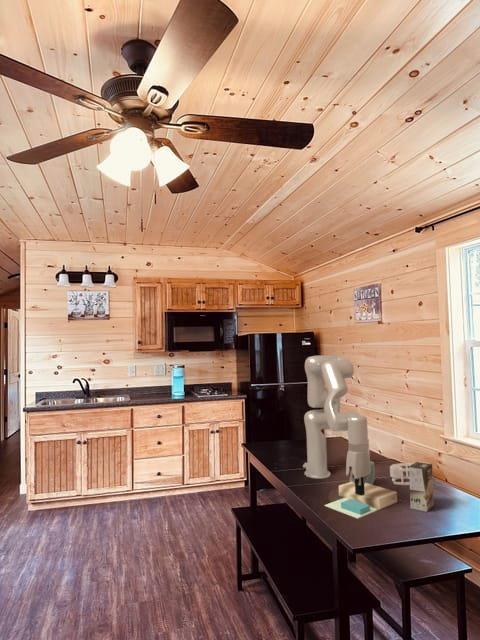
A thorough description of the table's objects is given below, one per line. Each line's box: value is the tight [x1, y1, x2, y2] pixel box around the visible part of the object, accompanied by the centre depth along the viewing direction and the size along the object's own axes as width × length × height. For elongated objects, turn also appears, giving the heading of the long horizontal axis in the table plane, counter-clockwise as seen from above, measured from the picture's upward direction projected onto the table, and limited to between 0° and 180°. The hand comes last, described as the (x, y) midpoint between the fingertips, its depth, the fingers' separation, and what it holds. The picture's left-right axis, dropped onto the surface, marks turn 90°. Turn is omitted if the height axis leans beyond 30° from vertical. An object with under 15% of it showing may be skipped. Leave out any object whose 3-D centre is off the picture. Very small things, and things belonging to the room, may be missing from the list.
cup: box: [365, 460, 376, 485], centre depth 193 cm, size 8×8×10 cm
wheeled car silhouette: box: [389, 461, 430, 486], centre depth 198 cm, size 20×11×7 cm, turn 98°
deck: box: [338, 481, 398, 511], centre depth 176 cm, size 20×12×4 cm, turn 37°
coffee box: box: [408, 461, 435, 513], centre depth 166 cm, size 9×6×16 cm
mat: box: [324, 497, 379, 519], centre depth 166 cm, size 16×12×1 cm
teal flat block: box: [341, 499, 371, 515], centre depth 164 cm, size 9×6×2 cm, turn 38°
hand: (359, 494), depth 167 cm, fingers closed
